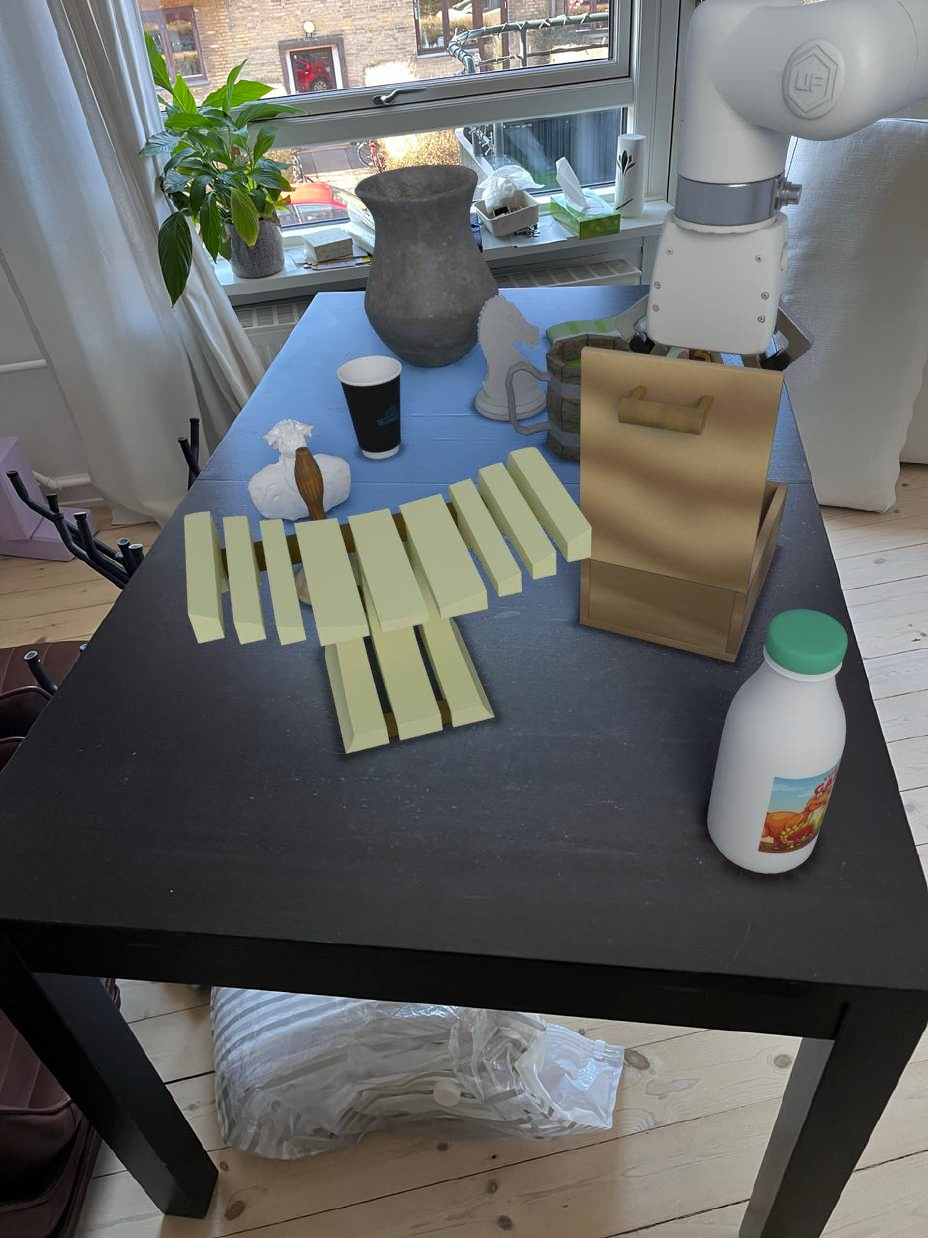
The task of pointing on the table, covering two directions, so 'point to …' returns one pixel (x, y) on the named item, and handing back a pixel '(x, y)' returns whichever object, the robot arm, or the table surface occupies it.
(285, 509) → the white tied sack
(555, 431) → the mug
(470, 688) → the slatted curved stool
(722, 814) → the milk bottle
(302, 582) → the hand bell
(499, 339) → the chess piece
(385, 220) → the vase
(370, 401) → the dixie cup
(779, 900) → the table surface
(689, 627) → the box
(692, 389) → the lid
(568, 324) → the dish towel
